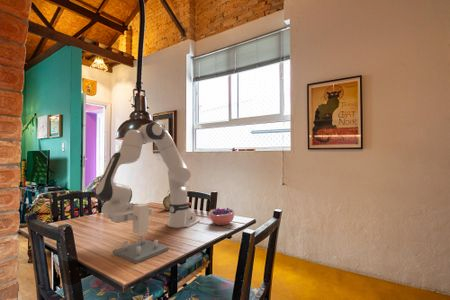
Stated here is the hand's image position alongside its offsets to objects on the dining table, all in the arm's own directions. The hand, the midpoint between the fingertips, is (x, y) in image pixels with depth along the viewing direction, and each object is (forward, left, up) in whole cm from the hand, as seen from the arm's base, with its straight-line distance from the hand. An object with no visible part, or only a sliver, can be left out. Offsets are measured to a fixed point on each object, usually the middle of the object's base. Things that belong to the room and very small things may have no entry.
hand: (141, 216), depth 119 cm
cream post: (0, -1, -7) cm, 8 cm away
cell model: (-60, +4, -17) cm, 63 cm away
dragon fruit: (-42, -70, -17) cm, 83 cm away
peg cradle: (0, -1, -17) cm, 17 cm away
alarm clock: (-67, -53, -17) cm, 87 cm away
